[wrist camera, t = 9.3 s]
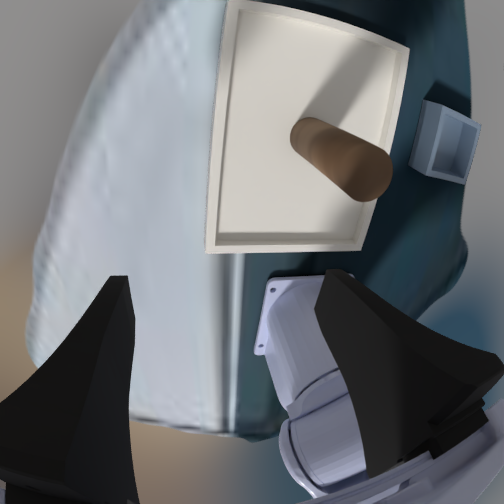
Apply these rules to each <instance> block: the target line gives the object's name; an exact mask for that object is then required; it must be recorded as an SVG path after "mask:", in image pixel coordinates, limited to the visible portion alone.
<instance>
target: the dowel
mask: <svg viewBox="0 0 504 504" xmlns="http://www.w3.org/2000/svg"><path fill="white" fill-rule="evenodd" d="M290 143H291V146H292V148H293V149H294V150H295V152H297V153H298V154H299V155H300V156H302V157H303V158H304V159H305V160H307V161H308V162H309V163H310V164H312V165H313V166H314V167H315V168H316V169H318V170H319V171H320V172H321V173H323V174H324V175H325V176H326V177H327V178H329V179H330V180H331V181H332V182H333V183H334V184H336V185H337V186H338V187H339V188H340V189H341V190H343V191H344V192H345V193H346V194H347V195H348V196H349V197H350V198H352V199H353V200H355V201H358V202H369V201H372V200H375V199H377V198H378V197H379V196H381V195H382V194H383V193H384V192H385V191H386V189H387V188H388V186H389V184H390V182H391V179H392V175H393V164H392V161H391V158H390V156H389V155H388V153H387V152H386V151H385V150H383V149H382V148H380V147H378V146H376V145H374V144H372V143H370V142H368V141H366V140H364V139H362V138H359V137H357V136H355V135H353V134H351V133H349V132H347V131H344V130H342V129H340V128H338V127H335V126H333V125H331V124H329V123H326V122H324V121H322V120H319V119H317V118H313V117H307V118H303V119H301V120H299V121H298V122H297V123H296V124H295V125H294V126H293V128H292V130H291V133H290Z"/></svg>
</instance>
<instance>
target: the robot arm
mask: <svg viewBox="0 0 504 504" xmlns="http://www.w3.org/2000/svg"><path fill="white" fill-rule="evenodd" d="M271 288H274V289H272V290H271ZM134 346H135V314H134V309H133V304H132V299H131V293H130V287H129V281H128V276H110V277H109V278H108V280H107V281H106V283H105V284H104V286H103V287H102V288H101V290H100V291H99V293H98V294H97V296H96V297H95V299H94V300H93V302H92V303H91V305H90V306H89V307H88V309H87V310H86V312H85V313H84V314H83V316H82V317H81V319H80V320H79V321H78V323H77V324H76V325H75V327H74V328H73V329H72V330H71V332H70V333H69V334H68V336H67V337H66V338H65V340H64V341H63V342H62V343H61V344H60V346H59V347H58V348H57V349H56V350H55V351H54V353H53V354H52V355H51V356H50V357H49V358H48V359H47V360H46V361H45V363H44V364H43V365H42V366H41V367H40V368H39V369H38V370H37V371H36V372H35V373H34V374H33V375H32V376H31V377H30V378H29V379H28V380H27V381H26V382H24V383H23V384H22V385H21V386H20V387H19V388H18V389H17V390H15V391H14V392H13V393H12V394H11V395H9V396H8V397H7V398H6V399H5V400H3V401H2V402H1V403H0V479H1V480H3V481H4V482H6V490H5V489H2V488H0V504H140V503H139V498H138V493H137V487H136V482H135V476H134V470H133V461H132V453H131V443H130V430H129V391H130V381H131V371H132V363H133V354H134ZM254 353H255V354H256V355H264V354H265V357H266V360H267V364H268V367H269V370H270V373H271V376H272V379H273V383H274V386H275V389H276V392H277V395H278V398H279V401H280V403H281V405H282V406H283V407H284V409H285V410H286V411H287V412H288V415H289V419H287V420H285V421H284V422H283V424H282V426H281V431H280V434H279V447H280V452H281V455H282V458H283V461H284V463H285V466H286V468H287V469H288V471H289V473H290V474H291V476H292V477H293V478H294V480H295V481H296V482H297V483H298V484H300V485H301V486H303V487H304V488H305V489H306V490H307V491H308V492H309V493H310V494H311V495H312V496H313V498H314V499H312V500H308V501H304V502H300V503H297V504H473V503H474V502H475V501H476V500H477V498H478V497H479V496H480V495H481V494H482V493H483V491H484V490H485V489H486V488H487V487H488V485H489V484H490V483H491V482H492V480H493V479H494V478H495V477H496V475H497V474H498V472H499V471H500V470H501V469H502V467H503V466H504V400H503V399H500V400H499V401H497V402H496V403H495V404H494V405H492V406H491V407H490V408H488V409H487V410H486V411H485V412H484V411H483V409H482V407H483V406H484V405H485V402H484V401H483V399H482V397H483V396H484V395H485V394H486V393H487V392H488V391H489V390H490V389H491V388H492V387H493V386H494V385H495V384H496V383H497V382H498V380H499V379H500V378H501V377H502V376H503V375H504V364H503V363H502V361H501V360H500V359H499V357H498V356H497V355H496V354H494V353H490V352H487V351H483V350H480V349H476V348H473V347H470V346H467V345H465V344H462V343H459V342H457V341H454V340H452V339H450V338H447V337H445V336H443V335H441V334H439V333H437V332H435V331H433V330H431V329H429V328H427V327H426V326H424V325H422V324H420V323H419V322H417V321H415V320H413V319H412V318H410V317H409V316H407V315H405V314H404V313H402V312H401V311H399V310H398V309H396V308H395V307H393V306H392V305H391V304H389V303H388V302H386V301H385V300H384V299H382V298H381V297H379V296H378V295H377V294H375V293H374V292H373V291H371V290H370V289H369V288H367V287H366V286H365V285H363V284H362V283H361V282H359V281H358V280H356V279H355V278H354V276H353V275H352V274H348V273H346V272H345V271H343V270H341V269H327V270H326V273H325V275H317V276H298V277H277V278H271V279H269V280H268V282H267V285H266V290H265V296H264V301H263V306H262V311H261V316H260V322H259V327H258V332H257V337H256V342H255V347H254Z"/></svg>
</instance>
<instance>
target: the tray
mask: <svg viewBox="0 0 504 504" xmlns="http://www.w3.org/2000/svg"><path fill="white" fill-rule="evenodd" d="M409 50H410V49H409V48H407V47H405V46H403V45H401V44H398V43H396V42H394V41H392V40H389V39H387V38H385V37H382V36H380V35H377V34H375V33H372V32H370V31H367V30H364V29H362V28H359V27H356V26H353V25H350V24H347V23H344V22H341V21H338V20H335V19H331V18H328V17H325V16H321V15H317V14H314V13H310V12H306V11H302V10H298V9H293V8H289V7H284V6H279V5H274V4H268V3H262V2H256V1H249V0H228V1H227V2H226V7H225V14H224V21H223V28H222V35H221V43H220V51H219V59H218V67H217V76H216V85H215V95H214V105H213V116H212V127H211V138H210V151H209V164H208V179H207V195H206V213H205V235H204V247H205V253H206V254H216V253H269V252H321V251H361V248H362V245H363V242H364V239H365V236H366V233H367V230H368V227H369V224H370V221H371V218H372V215H373V211H374V208H375V205H376V201H377V199H375V200H372V201H369V202H358V201H355V200H353V199H352V198H350V197H349V196H348V195H347V194H346V193H345V192H344V191H343V190H341V189H340V188H339V187H338V186H337V185H336V184H334V183H333V182H332V181H331V180H330V179H329V178H327V177H326V176H325V175H324V174H323V173H321V172H320V171H319V170H318V169H316V168H315V167H314V166H313V165H312V164H310V163H309V162H308V161H307V160H305V159H304V158H303V157H302V156H300V155H299V154H298V153H297V152H295V150H294V149H293V148H292V146H291V143H290V133H291V130H292V128H293V126H294V125H295V124H296V123H297V122H298V121H299V120H301V119H303V118H307V117H313V118H317V119H319V120H322V121H324V122H326V123H329V124H331V125H333V126H335V127H338V128H340V129H342V130H344V131H347V132H349V133H351V134H353V135H355V136H357V137H359V138H362V139H364V140H366V141H368V142H370V143H372V144H374V145H376V146H378V147H380V148H382V149H383V150H385V151H386V152H387V153H388V155H389V154H390V150H391V145H392V141H393V137H394V133H395V128H396V124H397V119H398V114H399V109H400V104H401V99H402V94H403V88H404V82H405V77H406V70H407V64H408V57H409Z"/></svg>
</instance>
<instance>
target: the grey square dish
mask: <svg viewBox="0 0 504 504" xmlns="http://www.w3.org/2000/svg"><path fill="white" fill-rule="evenodd" d="M480 129H481V125H480V124H478V123H477V122H475V121H473V120H471V119H470V118H468V117H466V116H464V115H462V114H460V113H458V112H456V111H454V110H452V109H450V108H448V107H446V106H444V105H441V104H437V103H434V102H430V101H427V100H423V103H422V108H421V113H420V118H419V122H418V127H417V131H416V135H415V139H414V143H413V148H412V151H411V155H410V159H409V163H408V166H410V167H412V168H414V169H415V170H417V171H419V172H421V173H422V174H424V175H426V176H431V177H435V178H439V179H444V180H448V181H452V182H456V183H460V184H464V185H465V184H466V181H467V177H468V174H469V171H470V167H471V164H472V161H473V157H474V153H475V150H476V146H477V142H478V138H479V134H480Z"/></svg>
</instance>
